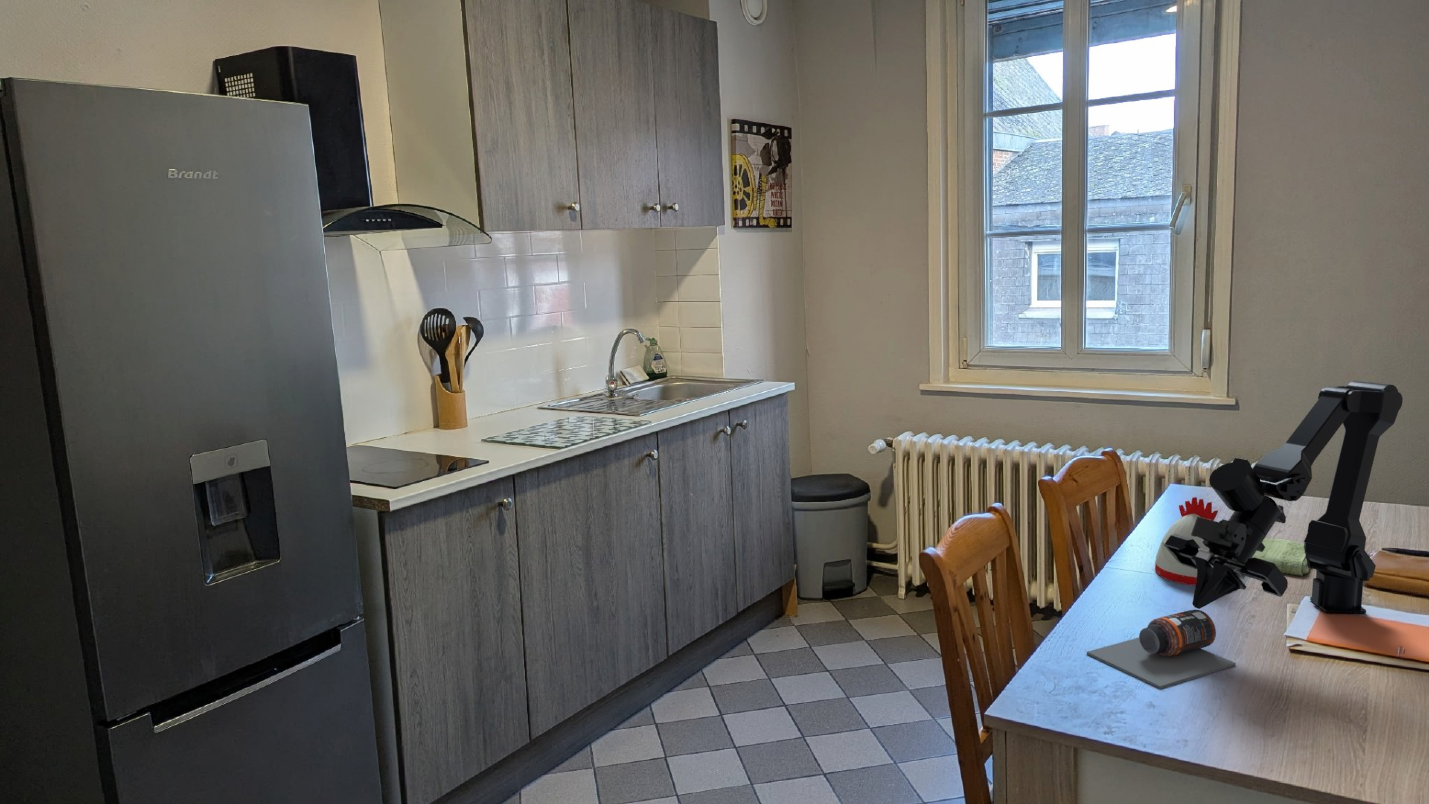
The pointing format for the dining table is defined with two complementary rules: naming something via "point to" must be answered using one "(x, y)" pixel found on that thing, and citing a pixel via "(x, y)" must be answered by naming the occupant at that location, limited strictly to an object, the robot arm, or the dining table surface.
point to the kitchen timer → (1184, 527)
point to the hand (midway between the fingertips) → (1195, 606)
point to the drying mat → (1159, 663)
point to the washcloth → (1284, 556)
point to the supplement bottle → (1178, 633)
